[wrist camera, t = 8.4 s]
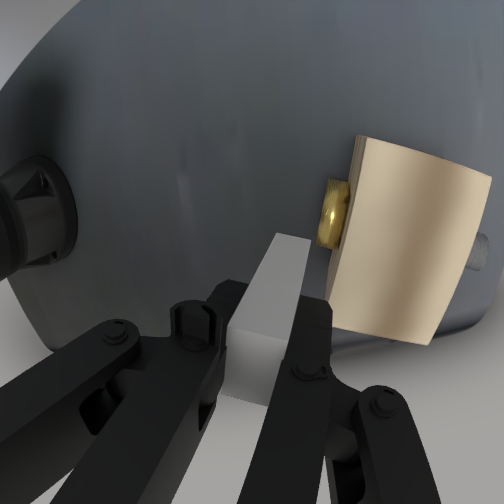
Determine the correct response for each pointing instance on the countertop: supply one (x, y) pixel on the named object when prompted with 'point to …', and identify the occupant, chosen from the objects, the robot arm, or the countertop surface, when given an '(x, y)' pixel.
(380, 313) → the bore block
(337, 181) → the pin
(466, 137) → the countertop surface
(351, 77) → the countertop surface
